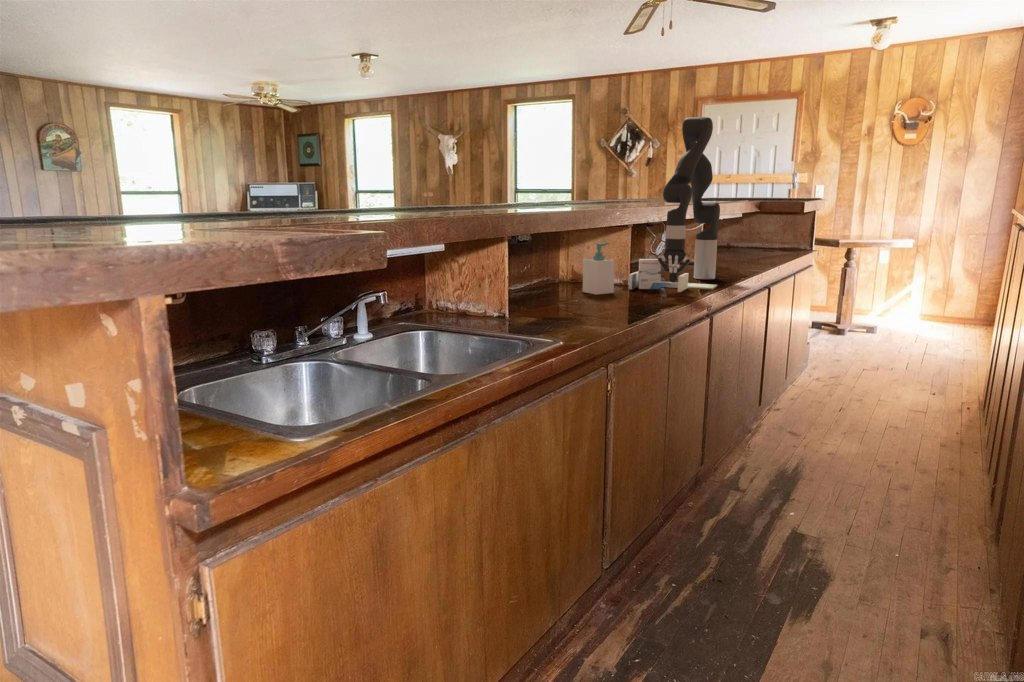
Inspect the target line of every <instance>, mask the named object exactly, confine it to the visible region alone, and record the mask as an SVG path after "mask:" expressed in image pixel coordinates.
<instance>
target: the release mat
mask: <svg viewBox="0 0 1024 682" xmlns="http://www.w3.org/2000/svg"><path fill="white" fill-rule="evenodd" d="M717 287H718V284H708V283H694V282H693V283H692V282H688V288H687V289H698V288H699V289H701V290H714V289H715V288H717Z"/></svg>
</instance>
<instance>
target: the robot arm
mask: <svg viewBox="0 0 1024 682" xmlns="http://www.w3.org/2000/svg"><path fill="white" fill-rule="evenodd" d="M681 126H682V128H681V133H682V139H683V144H684V147H685V153H684V154H683V155H681V157H680V158H679V161H678V162H677V165H676V167H675V171H674V173H673V174H672V176H671V178H670V179H669V181H668V182H667V183H666V184H665V186H664V188H663V191H662V198H663V200H664V201H665V202H666V203H669V204H673V203H674V204H679V206H678V207H677V208H672V209H669V210H668V211H667V213H666V228H665V235H664V237H665V241H664V252H663V254H662V255H661V256H660V257H658V258H657V259H658V261H659V262H660V264H661V267H662V268H663V269H664V270H665V271H666V272H668V273H669V280H668V281H669V282H672V283H677V282H678V276H679V273H680V272H683V271H684V270H685V268H686V267H687V266H688V265H689V264H690V262H692V259H691V258H689V257H688V256H687V253H686V238H687V237H686V236H687V235H686V234H687V230H686V221H687V213H688V208H689V205H690V202H691V200H692V214H693V215H692V216H693V219H694V222H695V223H696V224H703V225H704V224H705V225H706V224H707V225H708V224H709V227H708V228H706V229H704V230H701V231H699V232H696V234H695V246H694V263H693V267H694V268H693V278H694V279H696V280H697V279H698V280H715V279H716V270H717V269H716V267H717V255H718V254H717V252H718V236H719V223H720V216H721V205H720V204H719V202H717V201H715V202H714V201H711V202H710V201H707V202H706V201H702V197H703V196H704V194H705V193H706V191H707V190H708V189H709V188H710V186H711V184H712V182H713V178H714V177H713V168H712V163H711V161H710V160H709V158H708V157H707V156H706V155H705V154H704V152H705V150H706V148H707V146H708V144H709V142H710V140H711V137H712V135H713V129H714V123H713V120H712V118H710V117H707V116H698V117H697V116H693V117H692V116H691V117H686V118H684V120H682V125H681ZM666 261H667V262H666ZM682 261H683V264H681V266H680V263H682ZM667 263H668V264H667Z"/></svg>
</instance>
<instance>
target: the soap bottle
mask: <svg viewBox="0 0 1024 682" xmlns="http://www.w3.org/2000/svg"><path fill="white" fill-rule="evenodd" d="M609 244H610V243H609V242H601V243H600V242H599V243H596V242H594V245H596V249H597V251H596V252H595V253H594V255H592V256H593V257H592V258H583V259H582V260H583V261H582V264H583V265H582V292H583V293H586V294H589V295H590V294H592V295H596V296H598V295H607V294H613V293H614V291H615V290H614V289H615V261H616V260H615V259H610V258H606V257H605V255H603V254H604V252H602V251H601V250H602V247H604V246H607V245H609Z"/></svg>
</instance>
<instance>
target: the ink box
mask: <svg viewBox="0 0 1024 682" xmlns="http://www.w3.org/2000/svg"><path fill="white" fill-rule="evenodd" d="M638 271H639V277H638V287H637V288H638V290H661V287H660V284H661V282H662V281H661V280H662V279H661V278H662V265H661V264H660V262H659V261H658V258H639V259H638Z"/></svg>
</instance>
